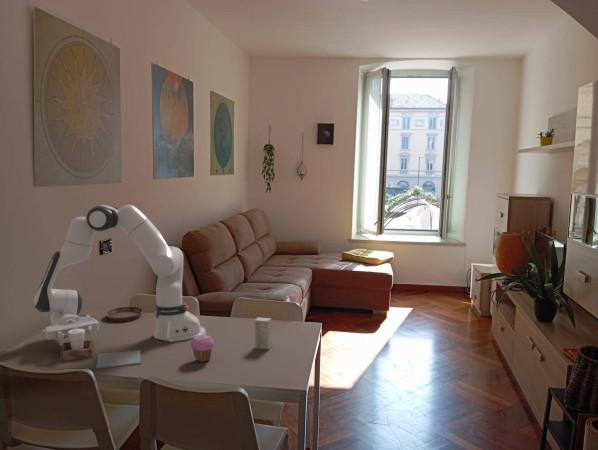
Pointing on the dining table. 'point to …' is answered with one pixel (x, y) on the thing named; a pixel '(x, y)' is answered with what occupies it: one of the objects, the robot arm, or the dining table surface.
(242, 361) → the dining table surface
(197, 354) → the cupcake
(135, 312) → the plant saucer
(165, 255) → the robot arm
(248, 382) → the dining table surface
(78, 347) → the smoothie
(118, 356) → the slate mat
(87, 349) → the walnut holder
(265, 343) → the skincare box
